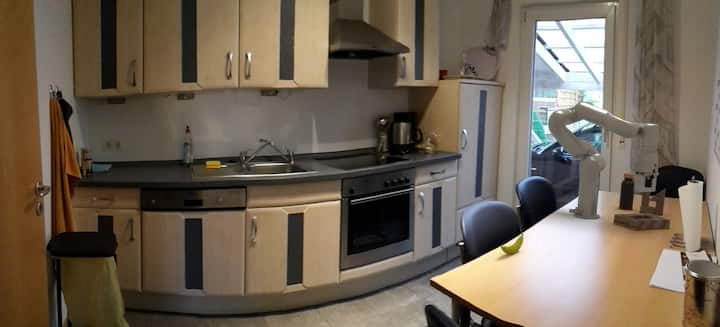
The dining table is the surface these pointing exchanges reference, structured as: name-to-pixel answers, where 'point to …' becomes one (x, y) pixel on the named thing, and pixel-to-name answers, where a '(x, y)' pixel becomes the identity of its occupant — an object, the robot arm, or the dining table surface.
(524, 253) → the dining table surface
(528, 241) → the dining table surface
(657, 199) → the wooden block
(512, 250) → the banana
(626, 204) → the bottle
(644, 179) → the grey bar
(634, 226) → the post base
